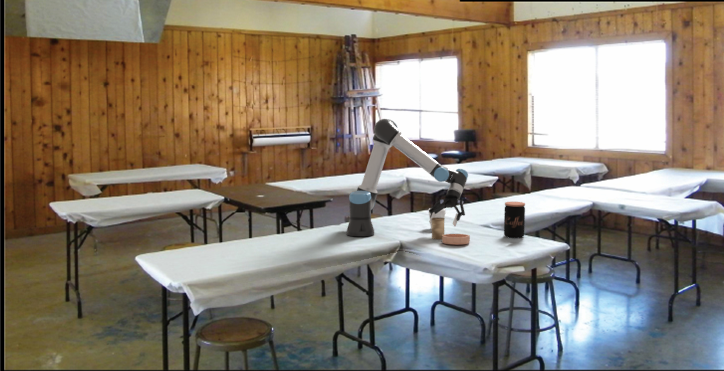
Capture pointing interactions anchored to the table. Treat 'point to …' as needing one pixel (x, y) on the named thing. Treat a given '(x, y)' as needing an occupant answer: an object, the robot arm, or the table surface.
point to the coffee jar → (514, 219)
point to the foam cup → (439, 214)
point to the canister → (437, 228)
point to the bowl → (455, 239)
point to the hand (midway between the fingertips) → (442, 224)
